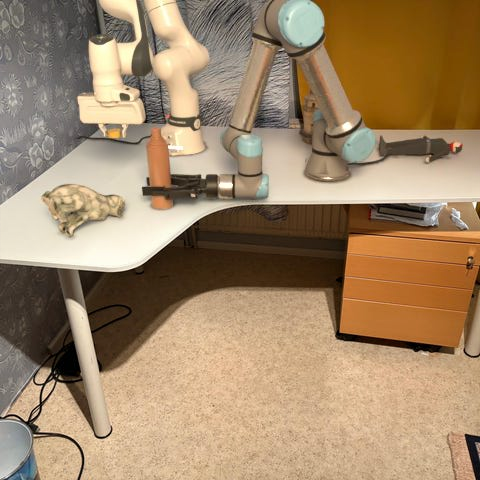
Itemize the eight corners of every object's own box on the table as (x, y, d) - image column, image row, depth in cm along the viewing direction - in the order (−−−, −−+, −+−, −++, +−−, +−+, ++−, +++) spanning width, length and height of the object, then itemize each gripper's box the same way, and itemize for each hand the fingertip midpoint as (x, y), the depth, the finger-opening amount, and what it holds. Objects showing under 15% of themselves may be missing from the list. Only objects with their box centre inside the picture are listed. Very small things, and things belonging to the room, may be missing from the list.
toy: (379, 128, 216) (458, 128, 210) (378, 143, 219) (456, 144, 213) (380, 150, 194) (469, 151, 187) (379, 166, 197) (466, 168, 190)
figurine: (85, 253, 150) (138, 211, 159) (47, 199, 141) (105, 158, 150) (72, 248, 157) (123, 208, 166) (34, 197, 148) (90, 157, 157)
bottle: (167, 198, 173) (160, 123, 161) (176, 205, 168) (170, 129, 156) (148, 203, 170) (140, 127, 158) (157, 211, 165) (150, 133, 153)
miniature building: (320, 132, 228) (325, 59, 214) (338, 142, 217) (344, 66, 203) (293, 137, 224) (296, 63, 209) (310, 147, 213) (314, 69, 198)
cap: (108, 139, 166) (107, 133, 165) (108, 135, 170) (107, 129, 169) (122, 137, 167) (121, 131, 166) (121, 133, 171) (120, 127, 170)
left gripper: (72, 94, 160) (80, 139, 167) (138, 95, 158) (143, 140, 165) (80, 89, 166) (87, 133, 173) (144, 90, 163) (149, 134, 170)
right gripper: (216, 211, 159) (139, 211, 160) (221, 184, 176) (151, 184, 177) (216, 188, 155) (137, 188, 156) (220, 163, 172) (149, 163, 173)
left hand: (115, 136), depth 169 cm, fingers closed on cap, 4 cm apart
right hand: (144, 186), depth 166 cm, fingers closed on bottle, 7 cm apart
